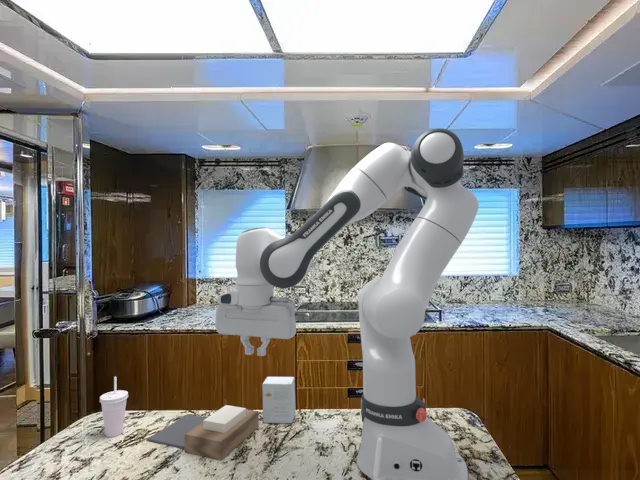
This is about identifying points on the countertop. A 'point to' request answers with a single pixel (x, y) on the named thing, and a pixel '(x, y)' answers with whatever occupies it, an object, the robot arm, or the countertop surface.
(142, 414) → the countertop surface
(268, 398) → the small box
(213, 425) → the tile
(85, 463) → the countertop surface
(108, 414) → the smoothie
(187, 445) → the brown wooden block
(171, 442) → the mat
